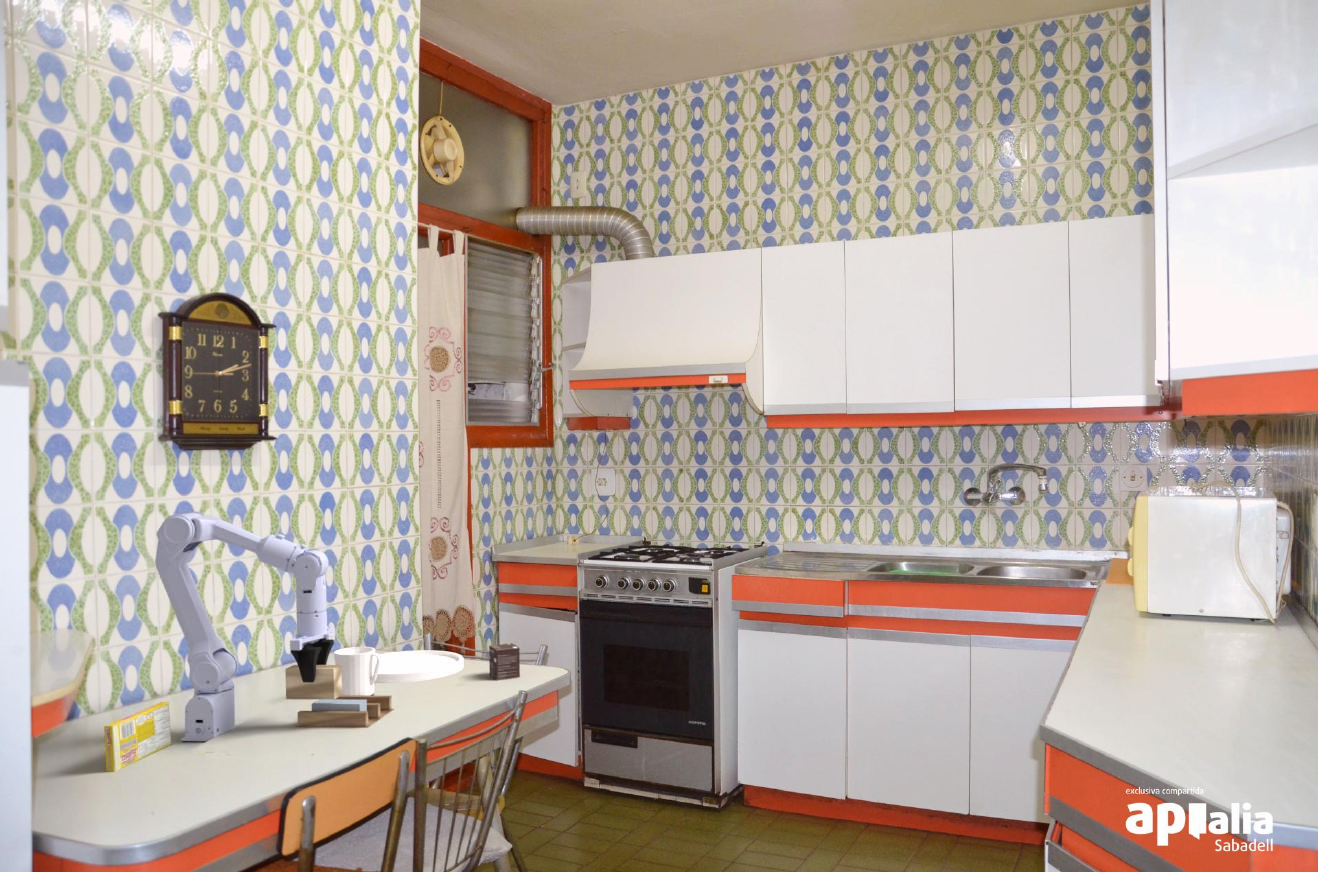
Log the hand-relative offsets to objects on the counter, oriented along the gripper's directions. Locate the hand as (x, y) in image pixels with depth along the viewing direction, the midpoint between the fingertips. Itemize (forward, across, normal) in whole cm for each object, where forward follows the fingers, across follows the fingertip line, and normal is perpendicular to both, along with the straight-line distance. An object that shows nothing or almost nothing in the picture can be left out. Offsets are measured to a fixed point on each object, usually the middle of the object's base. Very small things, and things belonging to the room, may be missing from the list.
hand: (313, 679), depth 202 cm
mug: (+10, +26, +2) cm, 28 cm away
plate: (+11, +54, +2) cm, 55 cm away
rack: (+10, +6, -4) cm, 12 cm away
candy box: (+10, -19, +25) cm, 33 cm away
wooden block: (+3, 0, 0) cm, 4 cm away
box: (+10, +47, -26) cm, 54 cm away
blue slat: (+9, +2, -4) cm, 10 cm away
